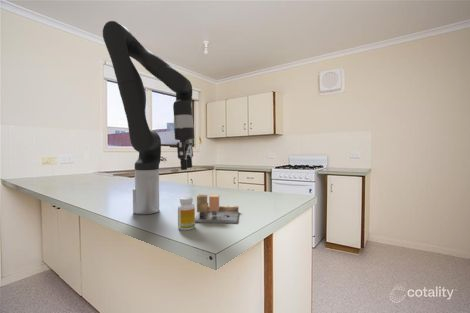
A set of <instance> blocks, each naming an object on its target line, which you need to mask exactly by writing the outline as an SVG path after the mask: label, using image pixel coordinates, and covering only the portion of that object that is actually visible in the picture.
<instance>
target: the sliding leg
mask: <svg viewBox="0 0 470 313" xmlns="http://www.w3.org/2000/svg"><path fill="white" fill-rule="evenodd" d="M208 200H209V202H208V206H209V211H212V215H217V211H219V206H220V195H219V194H210V195H209V199H208Z"/></svg>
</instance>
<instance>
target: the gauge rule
mask: <svg viewBox="0 0 470 313" xmlns="http://www.w3.org/2000/svg"><path fill="white" fill-rule="evenodd" d="M206 211H209V202H208V194H198V195H196V213H199V212H200V216H205V212H206ZM219 211H229V212H238V213H239V206H238V205H235V206H233V205H219Z"/></svg>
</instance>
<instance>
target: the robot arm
mask: <svg viewBox="0 0 470 313" xmlns="http://www.w3.org/2000/svg"><path fill="white" fill-rule="evenodd" d="M102 39H103V42H104V44H105V46H106V49H107V52H108V55H109V57H110V59H111V63H112V67H113V71H114V75H115V78H116V83H117V87H118V91H119V95H120V98H121V102H122V105H123V110H124V113H125V117H126V121H127V127H128V128H127V129H128V136H129V141H130V144H131V146H132V148H133V149H134V150H135V151H136V152H138V159H137V160H136V161H135V163H134V188H133V189H132V214H136V215H137V214H138V215H150V214H155V213H158V212H159V211H160V164H161V159H162V156H161V155H162V141H161V137H160V134H158V132H156V131H154V130H151V129H150V127H149V124H148V121H147V116H146V105H147V94H146V89H145V86H144V83H143V79H142V77H141V75H140V73H139V71H138V69H137V68H136V66H135V64H134V62H133V61H132V59H134V60H135V61H136V62H138V63H139V64H140V66H142V67H143V68H144V69H145V70H146V71H147V72H148V73H150V74H151V75H153V77H154V78H156V79H158V80H159V81H160V82H162V84H164V85H165V86H166V87H167V88H168V89H170V90H171V91H172V92H174V93H175V101H173V105H172V108H173V109H172V110H173V132H174V140H176V141H178V142H176V145H177V147H176V149H177V158H178V159H179V161H180V170H181V171H186V170H187V169H189V168H190V169H191V168H193V158H194V151H193V150H194V149H193V143H192V142H190V140H195V129H194V128H195V127H194V119H193V111H192V109H193V108H192V100H193V85H192V83H191V81H190V80H189V79H188V78H187V77H186V76H185V75H184V74H182V73H181V72H179V71H178V70H176V69H175V68H173V67H172V66H171V65H170V64H168V63H167V62H166V61H165V60H164V59H162V58H161V57H160V56H158V55H156V54H155V53H153V52H152V51H150V50H148V49H147V48H146V47H145V46H144V45H142V44H141V42H140V41H139V40H138V39H137V38H136V37H135V36H134V35H133V33H132V32H131V31H130V30H128V28H127V27H125V26H124V25H122V24H121V23H119V22H118V21H115V20H110V21H107V22H106V23H105V24H104V25H103V27H102Z"/></svg>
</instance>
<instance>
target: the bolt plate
mask: <svg viewBox="0 0 470 313" xmlns="http://www.w3.org/2000/svg"><path fill="white" fill-rule="evenodd" d="M195 216H196V217H195V223H207V224H208V223H209V224H210V223H212V224H214V223H215V224H224V223H225V224H237V223H238V219H239V211H238V212H229V211H217V215H212V211H206V212H205V216H200V212H198V213H197V214H196V215H195Z"/></svg>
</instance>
